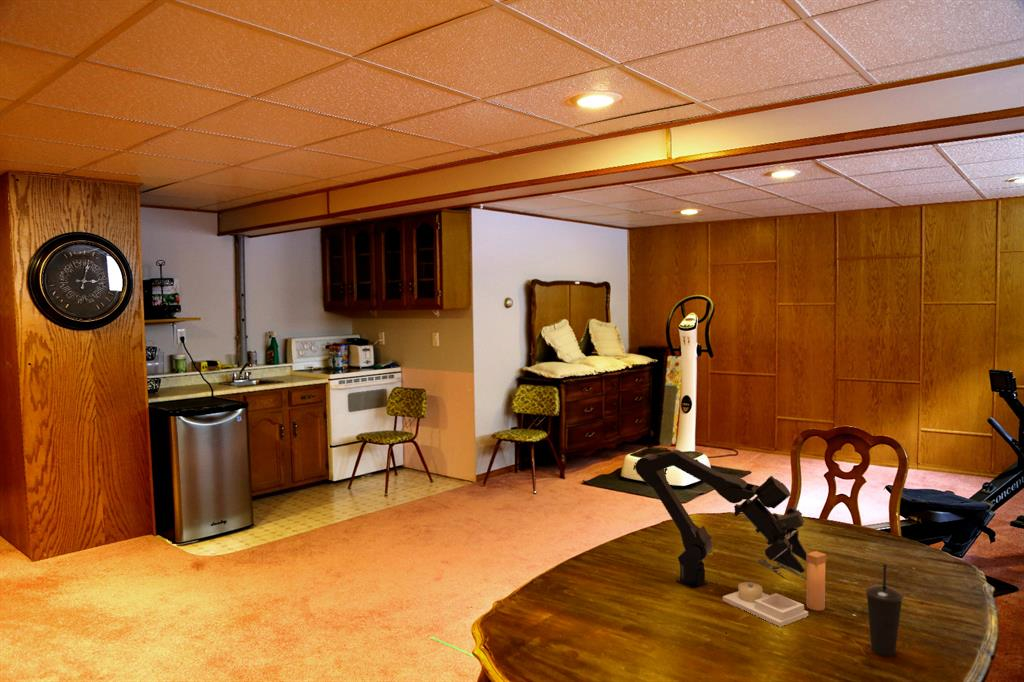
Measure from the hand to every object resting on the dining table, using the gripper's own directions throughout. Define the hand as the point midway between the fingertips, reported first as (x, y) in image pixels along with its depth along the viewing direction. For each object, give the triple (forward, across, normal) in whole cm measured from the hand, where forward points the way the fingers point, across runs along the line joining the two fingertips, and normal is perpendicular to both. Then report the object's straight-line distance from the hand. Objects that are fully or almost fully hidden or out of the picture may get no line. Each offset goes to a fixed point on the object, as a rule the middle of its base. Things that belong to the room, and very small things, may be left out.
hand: (805, 565), depth 183 cm
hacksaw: (+4, +21, +12) cm, 24 cm away
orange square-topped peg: (+9, 0, +6) cm, 11 cm away
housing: (+1, -7, +14) cm, 16 cm away
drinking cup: (+21, -17, -6) cm, 28 cm away
